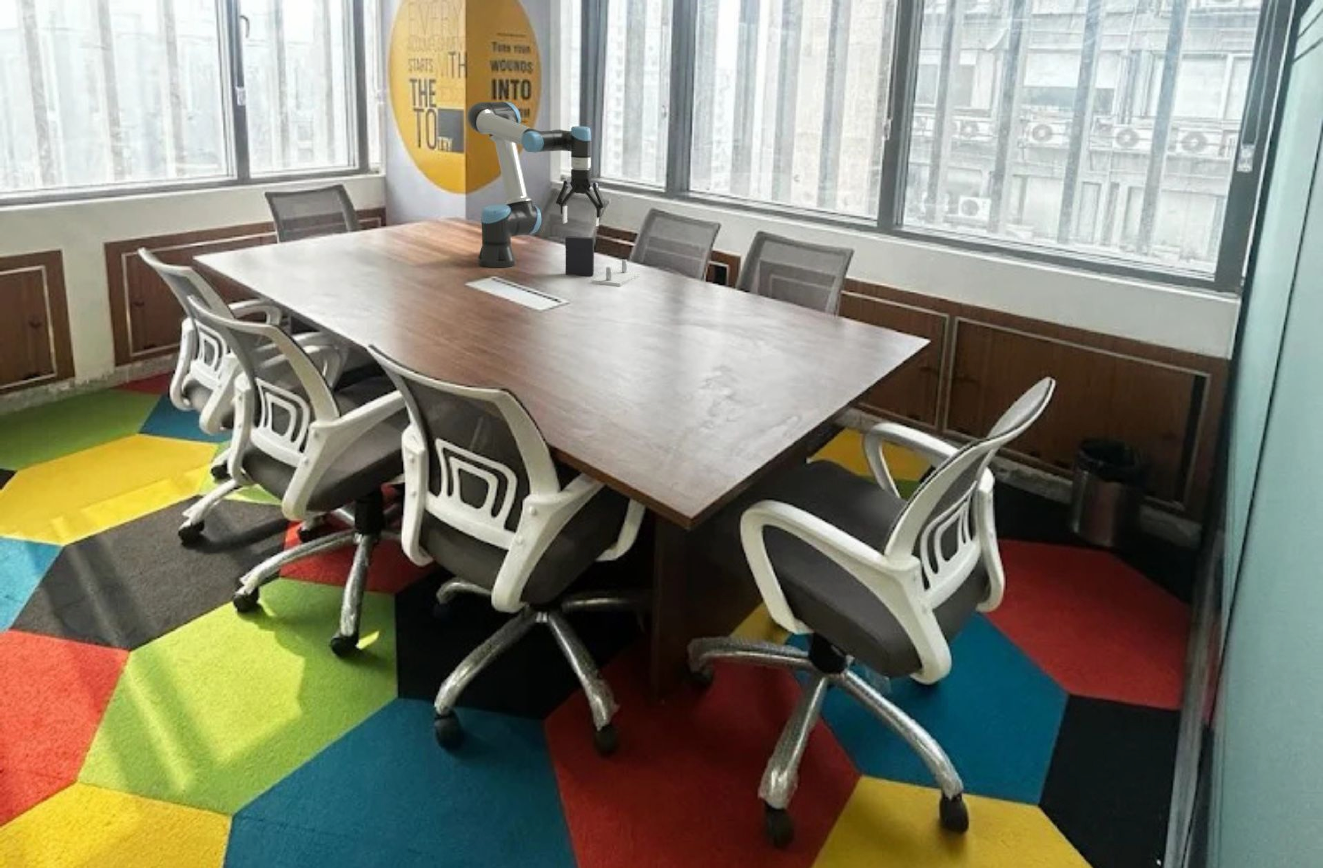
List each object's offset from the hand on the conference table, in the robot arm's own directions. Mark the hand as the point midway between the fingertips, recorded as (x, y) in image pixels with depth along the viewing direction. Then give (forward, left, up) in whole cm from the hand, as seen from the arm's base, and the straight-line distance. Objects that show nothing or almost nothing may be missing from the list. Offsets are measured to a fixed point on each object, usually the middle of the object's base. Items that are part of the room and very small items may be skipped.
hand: (580, 224), depth 377 cm
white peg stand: (+16, 0, -20) cm, 25 cm away
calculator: (0, 0, -20) cm, 20 cm away
